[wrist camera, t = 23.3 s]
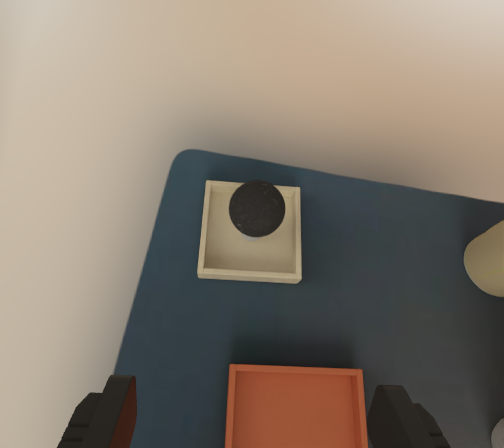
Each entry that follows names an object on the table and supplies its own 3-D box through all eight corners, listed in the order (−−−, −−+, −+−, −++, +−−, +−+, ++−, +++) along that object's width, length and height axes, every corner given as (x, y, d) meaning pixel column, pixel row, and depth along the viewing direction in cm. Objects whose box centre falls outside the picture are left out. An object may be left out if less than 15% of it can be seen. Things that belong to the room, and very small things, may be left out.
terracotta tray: (220, 523, 32) (220, 534, 30) (229, 364, 37) (230, 363, 35) (364, 524, 33) (374, 535, 31) (354, 369, 38) (362, 369, 36)
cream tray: (198, 278, 40) (197, 272, 38) (206, 189, 44) (206, 180, 42) (297, 283, 41) (301, 279, 39) (296, 195, 45) (300, 187, 43)
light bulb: (232, 207, 43) (236, 163, 34) (278, 218, 43) (294, 176, 34) (221, 251, 41) (223, 216, 32) (269, 261, 41) (285, 230, 32)
